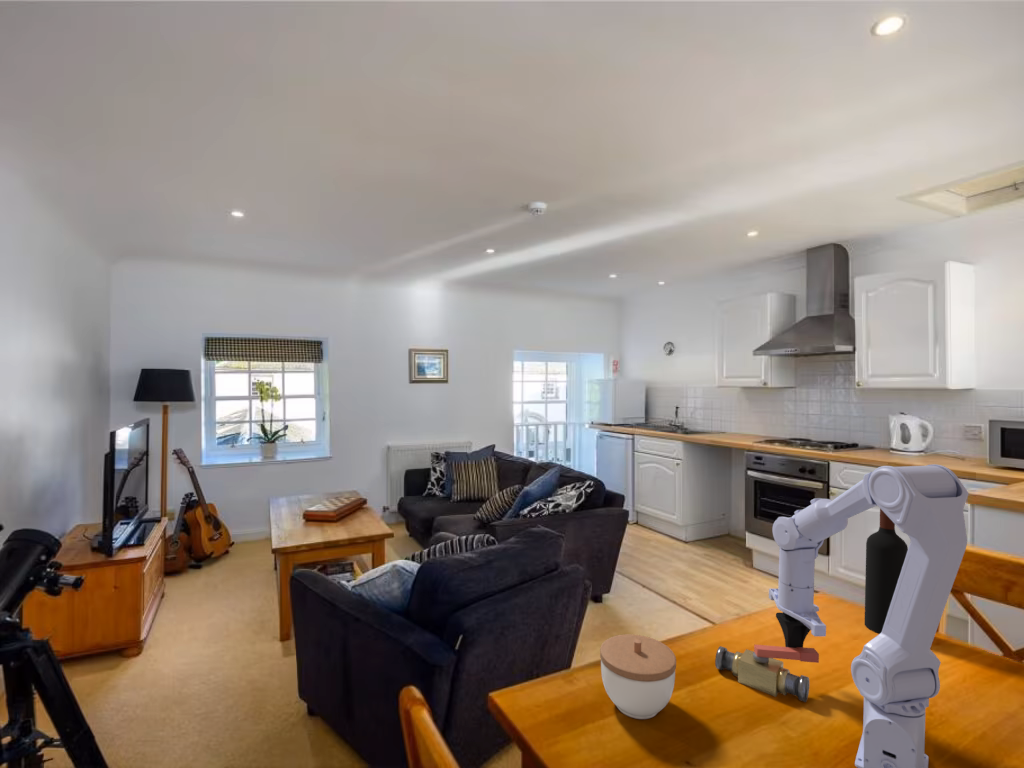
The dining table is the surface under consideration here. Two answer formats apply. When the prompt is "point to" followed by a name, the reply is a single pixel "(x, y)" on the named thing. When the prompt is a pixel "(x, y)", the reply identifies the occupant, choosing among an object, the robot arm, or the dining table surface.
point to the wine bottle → (882, 571)
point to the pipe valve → (762, 674)
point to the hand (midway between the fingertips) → (793, 654)
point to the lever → (784, 653)
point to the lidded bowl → (637, 674)
